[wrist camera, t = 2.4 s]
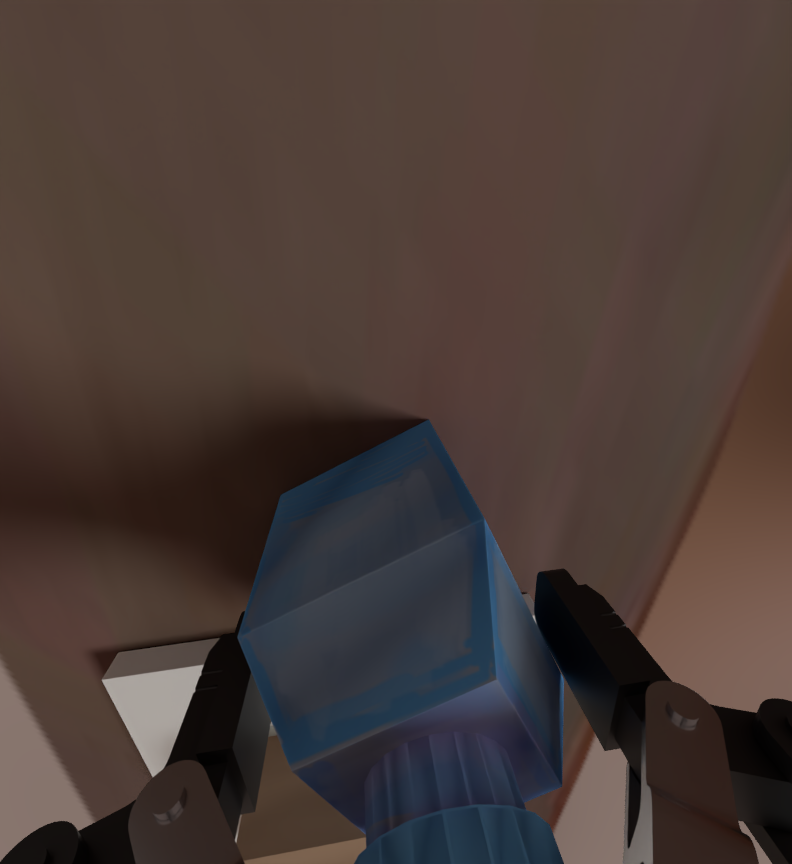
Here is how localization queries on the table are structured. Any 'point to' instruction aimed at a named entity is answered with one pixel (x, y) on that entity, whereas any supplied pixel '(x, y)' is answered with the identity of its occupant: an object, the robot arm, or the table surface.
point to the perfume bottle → (406, 662)
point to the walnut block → (294, 821)
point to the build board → (163, 693)
